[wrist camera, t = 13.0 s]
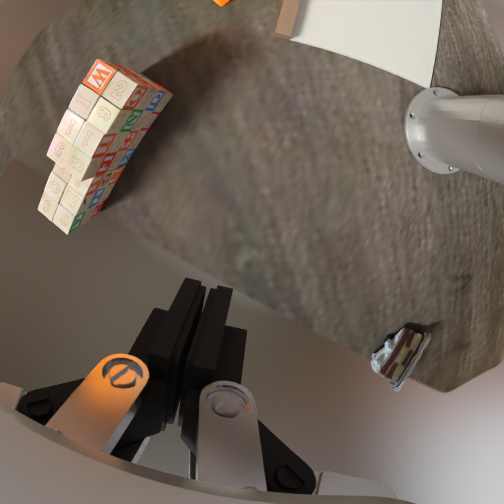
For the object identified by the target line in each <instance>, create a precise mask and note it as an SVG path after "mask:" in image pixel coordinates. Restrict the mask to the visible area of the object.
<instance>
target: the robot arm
mask: <svg viewBox="0 0 504 504" xmlns="http://www.w3.org/2000/svg"><path fill="white" fill-rule="evenodd" d="M433 92H434V93H433ZM410 114H411V117H410ZM404 134H405V139H406V143H407V145H408V148H409V150H410V152H411V153H412V155H413V157H414V158H415V159H416V160H417V161H418V163H420V164H421V165H422V166H423V167H424V168H426V169H428V170H430V171H432V172H435V173H439V174H451V173H454V172H457V171H459V170H460V169H461V170H464V171H467V172H470V173H473V174H476V175H478V176H481V177H484V178H487V179H489V180H492V181H495V182H497V183H500V184H502V185H504V94H502V95H469V96H459V95H458V94H456V93H455V92H453V91H451V90H449V89H446V88H442V87H432V88H427V89H424V90H422V91H420V92H419V93H417V94H416V95H415V96H414V97H413V98H412V100H411V101H410V103H409V104H408V106H407V109H406V112H405V116H404ZM418 153H419V156H418ZM448 167H449V168H448ZM205 292H206V287H205V286H201V281H198V280H194V279H189V278H185V280H184V282H183V284H182V285H181V287H180V289H179V291H178V293H177V295H176V297H175V299H174V301H173V303H172V305H171V307H170V309H169V311H166V310H162V309H159V308H154V309H153V311H152V313H151V314H150V316H149V318H148V320H147V321H146V323H145V325H144V327H143V328H142V330H141V332H140V334H139V336H138V337H137V339H136V341H135V343H134V344H133V346H132V348H131V350H130V352H129V354H114V355H111V356H108V357H106V358H104V359H103V360H102V361H101V362H100V363H99V364H98V365H97V366H96V367H95V368H94V370H93V371H92V372H91V373H90V374H89V375H88V376H87V377H86V378H83V379H79V380H76V381H71V382H67V383H63V384H59V385H54V386H50V387H46V388H41V389H36V390H33V391H31V392H28V393H25V392H24V391H23V389H22V388H19V387H16V386H12V385H9V384H6V383H3V382H0V504H415V503H411V502H408V501H405V500H399V499H396V495H395V492H394V491H393V489H392V488H391V487H390V486H389V485H387V484H386V483H383V482H379V481H373V480H367V479H361V478H355V477H351V476H346V475H341V474H337V473H332V472H328V471H324V470H323V471H322V472H321V473H319V472H315V471H313V470H312V469H311V468H310V467H309V466H308V465H307V464H306V463H305V462H304V461H303V460H302V459H301V458H299V457H298V456H297V455H296V454H295V453H294V452H293V451H291V450H290V449H289V448H288V447H287V446H286V445H285V444H284V443H283V442H281V440H279V439H278V438H277V437H276V436H275V435H274V434H273V433H272V432H271V431H270V430H268V428H267V427H266V426H265V425H264V424H263V423H261V422H260V421H259V420H258V419H257V413H256V405H255V401H254V398H253V396H252V394H251V393H250V392H249V391H248V390H247V389H246V388H245V387H243V386H241V378H242V369H243V361H244V353H245V344H246V336H247V330H245V329H240V328H235V327H231V326H227V325H225V323H226V319H227V314H228V309H229V305H230V300H231V296H232V292H233V289H232V288H227V287H223V286H219V285H218V286H217V289H213V288H211V289H210V292H209V294H208V297H207V300H206V303H205V306H204V309H203V303H204V297H205ZM202 309H203V312H202ZM180 399H181V400H180ZM179 402H180V409H179V418H178V426H181V427H182V431H181V439H182V440H183V441H184V443H185V444H186V445H187V447H188V448H189V449H190V454H189V479H188V478H184V477H180V476H176V475H172V474H168V473H164V472H161V471H157V470H154V469H150V468H147V467H144V466H140V465H137V464H136V463H137V461H138V459H139V457H140V456H141V453H142V452H143V450H144V448H145V447H146V445H147V443H148V440H149V438H150V436H151V435H154V434H157V433H159V432H160V430H161V431H164V430H165V427H166V424H167V423H170V424H173V422H174V419H175V415H176V412H177V409H178V405H179Z"/></svg>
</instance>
